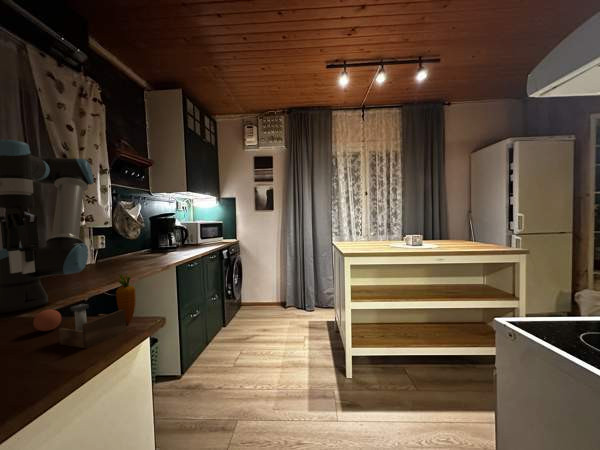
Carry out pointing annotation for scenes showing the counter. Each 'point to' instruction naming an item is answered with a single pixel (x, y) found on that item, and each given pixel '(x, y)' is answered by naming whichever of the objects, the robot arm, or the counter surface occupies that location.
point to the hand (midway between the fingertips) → (22, 272)
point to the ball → (47, 320)
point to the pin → (80, 315)
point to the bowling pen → (95, 330)
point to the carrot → (126, 298)
